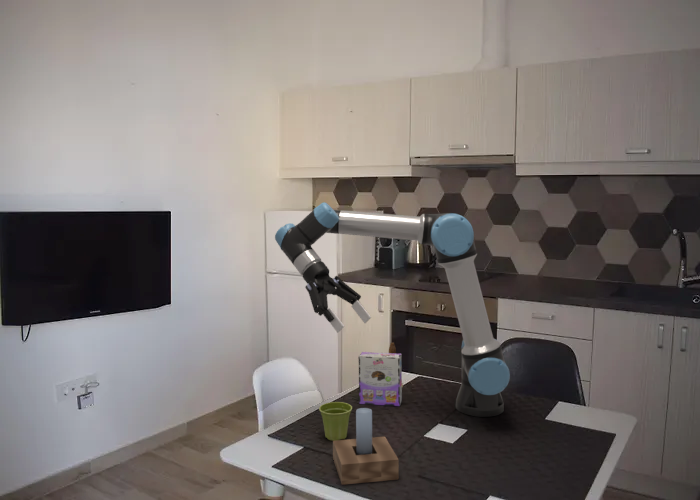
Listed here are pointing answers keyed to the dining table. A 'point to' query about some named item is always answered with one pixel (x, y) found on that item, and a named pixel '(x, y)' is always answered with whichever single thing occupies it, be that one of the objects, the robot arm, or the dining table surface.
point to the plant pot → (335, 419)
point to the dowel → (363, 431)
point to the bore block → (365, 462)
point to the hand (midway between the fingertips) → (355, 324)
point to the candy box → (380, 379)
